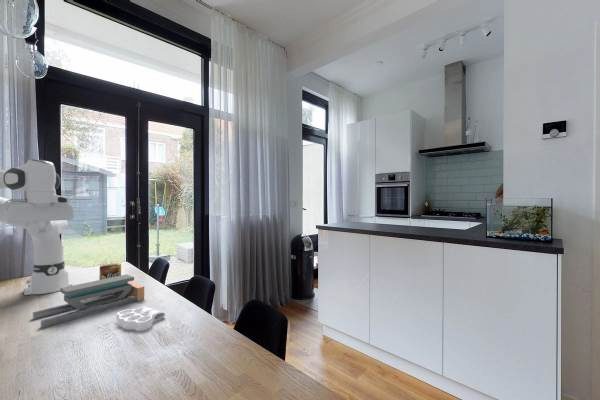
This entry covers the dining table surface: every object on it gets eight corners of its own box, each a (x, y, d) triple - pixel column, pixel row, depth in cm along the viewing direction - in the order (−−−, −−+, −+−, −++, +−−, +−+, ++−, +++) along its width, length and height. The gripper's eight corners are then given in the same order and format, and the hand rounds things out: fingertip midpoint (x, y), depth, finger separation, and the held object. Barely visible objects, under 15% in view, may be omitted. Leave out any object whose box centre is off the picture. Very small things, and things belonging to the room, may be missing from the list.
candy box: (99, 297, 130) (99, 266, 130) (99, 295, 134) (99, 264, 134) (121, 294, 135) (121, 263, 135) (121, 291, 139) (121, 262, 139)
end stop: (124, 294, 134) (124, 282, 134) (131, 293, 137) (131, 281, 137) (137, 300, 126) (137, 288, 126) (144, 299, 128) (144, 286, 128)
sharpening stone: (66, 319, 107) (66, 291, 107) (60, 314, 112) (60, 288, 112) (134, 300, 127) (134, 277, 127) (126, 296, 132) (126, 274, 132)
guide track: (32, 318, 107) (32, 312, 107) (124, 294, 134) (124, 289, 134) (41, 328, 99) (41, 321, 99) (137, 300, 126) (137, 295, 126)
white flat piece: (169, 320, 107) (131, 336, 94) (144, 310, 116) (105, 324, 103) (169, 311, 107) (131, 327, 94) (144, 303, 116) (105, 315, 103)
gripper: (5, 198, 101) (5, 235, 101) (74, 198, 117) (74, 230, 117) (3, 198, 104) (3, 234, 104) (70, 198, 121) (70, 229, 121)
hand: (41, 232), depth 111 cm, fingers closed
